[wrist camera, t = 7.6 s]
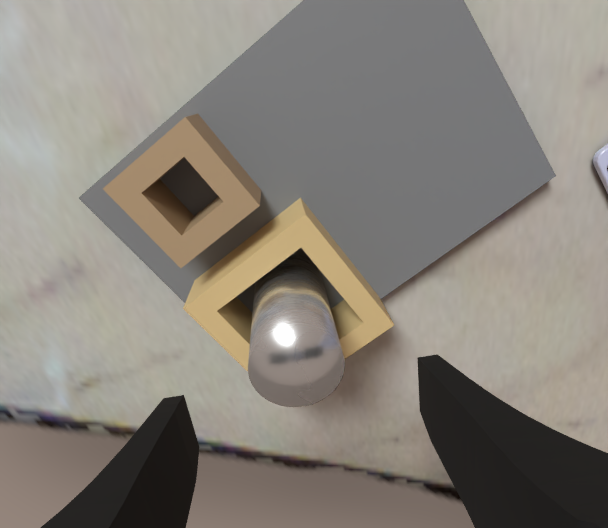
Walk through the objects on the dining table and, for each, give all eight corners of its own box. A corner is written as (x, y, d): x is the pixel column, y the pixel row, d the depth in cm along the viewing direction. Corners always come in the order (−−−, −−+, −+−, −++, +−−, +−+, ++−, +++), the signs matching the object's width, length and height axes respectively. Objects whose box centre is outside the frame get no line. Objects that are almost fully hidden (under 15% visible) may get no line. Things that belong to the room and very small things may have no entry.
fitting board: (545, 173, 21) (600, 188, 18) (264, 372, 24) (263, 419, 21) (407, -88, 17) (443, -136, 13) (85, 194, 20) (45, 215, 16)
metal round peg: (335, 292, 22) (362, 375, 15) (280, 327, 22) (284, 422, 16) (297, 240, 21) (310, 307, 14) (241, 278, 21) (227, 359, 15)
